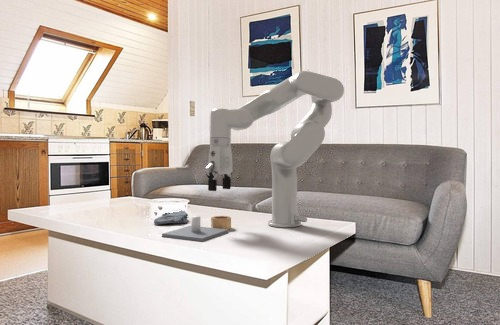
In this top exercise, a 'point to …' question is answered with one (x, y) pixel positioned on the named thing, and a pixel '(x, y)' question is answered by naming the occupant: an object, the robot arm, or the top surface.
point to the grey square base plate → (195, 231)
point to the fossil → (172, 218)
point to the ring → (221, 222)
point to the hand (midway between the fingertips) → (219, 189)
